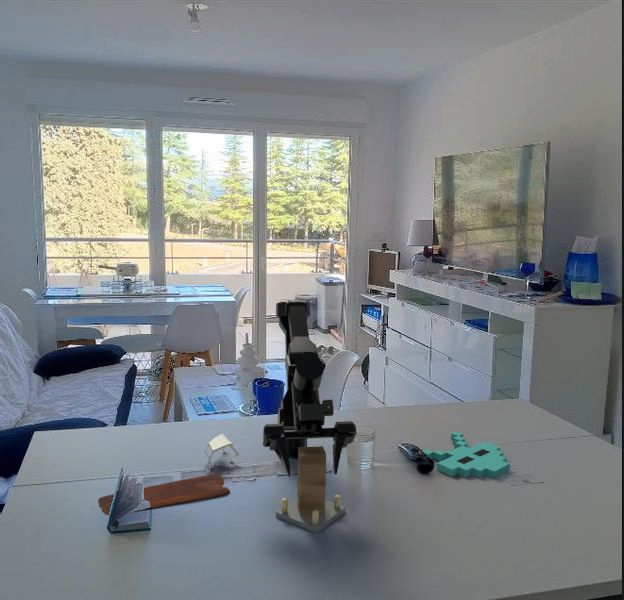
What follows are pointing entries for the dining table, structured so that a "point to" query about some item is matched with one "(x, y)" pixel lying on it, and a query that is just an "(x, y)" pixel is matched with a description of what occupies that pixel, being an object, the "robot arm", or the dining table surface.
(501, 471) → the alien figure
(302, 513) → the walnut shelf block
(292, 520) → the peg plate
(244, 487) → the dining table surface
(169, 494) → the wooden tablet
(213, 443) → the white gabled frame
